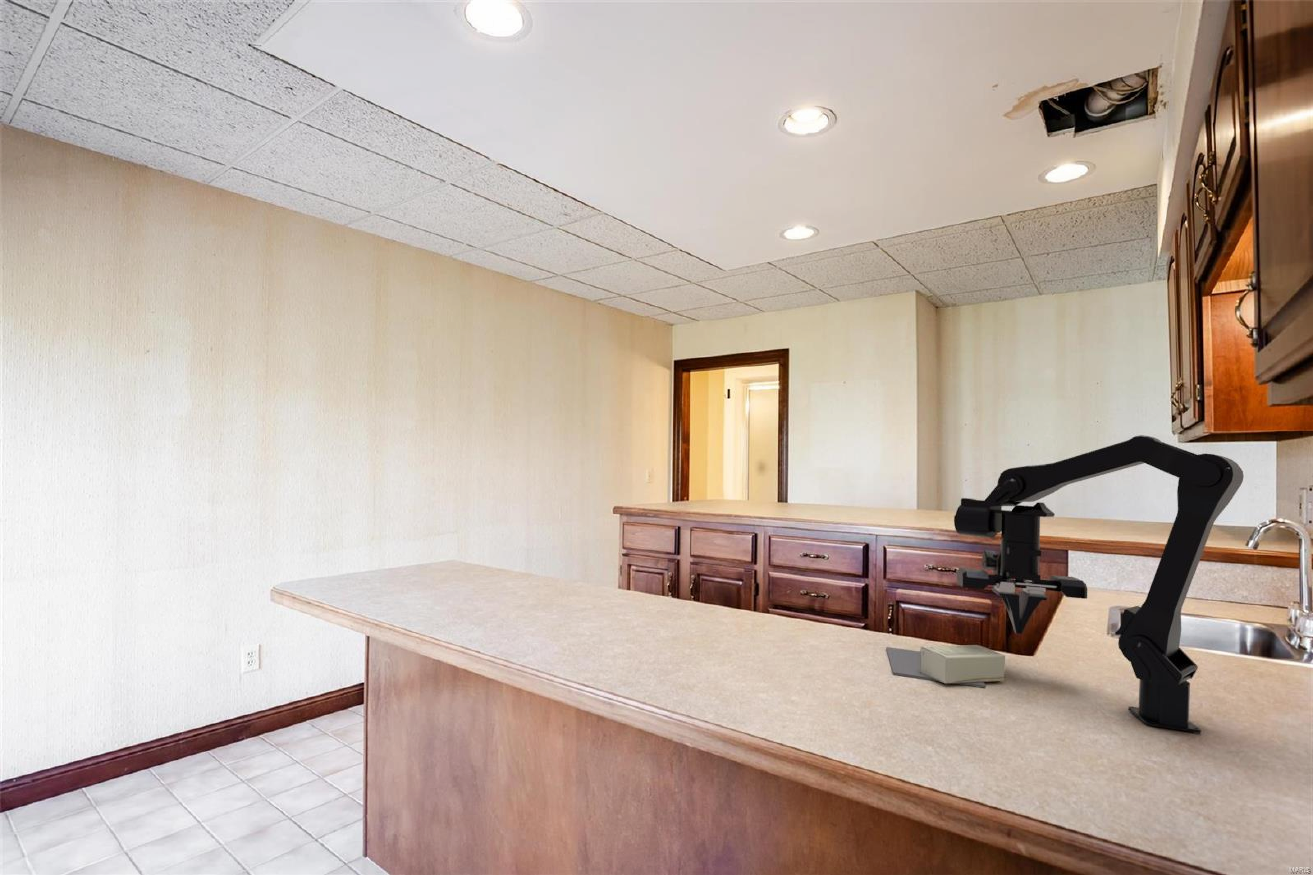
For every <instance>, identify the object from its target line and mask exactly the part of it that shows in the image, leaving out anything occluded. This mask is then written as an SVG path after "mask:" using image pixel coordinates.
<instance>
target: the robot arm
mask: <svg viewBox="0 0 1313 875" xmlns="http://www.w3.org/2000/svg"><path fill="white" fill-rule="evenodd" d="M1143 464H1146V465H1149V467H1153V468H1155V469H1157V470H1159V471H1162V472H1164V473H1166V474H1168V475H1171V476H1173V477H1175V478H1178V483H1177V488H1176V489H1177V490H1176V493H1177V494H1176V498H1177V501H1176V502H1177V511H1176V512H1177V514H1176V517H1175V518H1174V522H1173V525H1172V527H1171V530H1170V533H1169V534H1168V539H1167V541H1166V543H1165V546H1164V549H1163V553H1162V554H1161V557H1160V560H1159V563H1158V565H1157V569H1156V571H1155V573H1154V577H1153V579H1152V582H1151V585H1150V587H1149V590H1148V593H1147V595H1146V597H1145V601H1144V602H1143V603H1142V604H1141V606H1140V605H1135V606H1132V607H1128V608H1126V609H1124V610H1123V613H1122V617H1121V618H1122V619H1121V624H1120V627H1119V628H1118V629H1117V630H1116V631H1114V635H1116V636H1119V638H1118V644H1117V645H1118V649H1119V650H1120V652H1121V654H1122V656H1124V657H1125V659H1126V660H1127V661H1128V662H1130V664H1131V667H1132V671H1133V673H1134V675H1135V678H1136V679H1137V680H1139V683H1138V684H1139V688H1138V707H1137V706H1128V707H1127V708H1128V711H1130V713H1132V714H1133V715H1134V716H1135V717H1136V718H1138V719H1139V720H1140V721H1141V722H1143V723H1145V725H1147V726H1151V727H1157V728H1158V727H1159V728H1164V729H1171V730H1176V731H1178V730H1179V731H1184V732H1191V733H1196V734H1197V733H1198V734H1201V732H1202V729H1201V728H1200V727H1198V726H1197V725H1196V724H1194V723H1193V722H1191V721H1190V696H1191V694H1190V693H1191V683H1190V682H1189V681H1188V680H1192V679H1193V678H1194V676H1195V675H1196V672H1197V670H1198V669H1199V667H1198V666H1199V665H1197V663H1196V662H1194V660H1193V659H1192V658H1190V657H1189V655H1187V653H1186V652H1185V651H1183V649H1182V648H1181V647H1180V643H1181V635H1182V609H1183V606H1184V603H1185V600H1186V598H1187V595H1188V592H1189V591H1190V590H1189V589H1190V587H1191V584H1192V582H1193V579H1194V577H1195V574H1196V570H1197V568H1198V565H1199V563H1200V560H1201V558H1202V555H1203V553H1204V550H1205V547H1206V545H1207V542H1208V540H1209V539H1208V538H1209V537H1210V534H1211V531H1212V529H1213V525H1214V523H1215V521H1216V520H1217V518H1219V516H1220V515H1221V514H1222V512H1223V511H1224V510H1225V509H1226V508H1227V506H1228V505H1229V504H1230V502H1231V501H1232V499H1233V498H1234V496H1235V494H1236V493H1237V492H1238V490H1239V489H1240V487H1241V485H1242V483H1243V482H1244V477H1245V476H1244V471H1243V469H1242V468H1241V467H1240V465H1239V464H1238V463H1237V462H1236V461H1234V460H1233V459H1232V458H1228V457H1226V456H1222V455H1218V454H1213V453H1200V454H1196V453H1194V452H1191V451H1188V450H1185V449H1182V448H1179V447H1176V446H1174V445H1171V444H1169V443H1165V442H1163V441H1161V440H1160V439H1159V438H1156V437H1153V436H1149V435H1143V434H1142V435H1141V434H1140V435H1135V436H1133V437H1131V438H1129V439H1127V440H1126V441H1125V440H1124V441H1121V442H1118V443H1114V444H1111V445H1107V446H1105V447H1102V448H1097V449H1095V450H1091V451H1089V452H1085V453H1081V454H1078V455H1076V456H1071V457H1069V458H1066V459H1062V460H1059V461H1056V462H1052V463H1050V462H1049V463H1045V464H1034V465H1033V464H1032V465H1026V466H1025V465H1024V466H1017V467H1011V468H1010V467H1009V468H1007V469H1005V470H1003V471H1002V472H1001V473H1000V476H999V477H998V479H997V485H996V486H995V487H994V488H993V490H991V492H990V493H989V494H988V495H987V497H986V498H985V499H984V500H982V499H976V498H967V497H965V498H964V497H962V498H960V504H959V506H958V507H957V508H956V512H955V515H954V516H953V525H954V529H955V531H956V533H957V534H959V535H961V536H969V537H970V536H972V537H979V538H986V539H994V538H995V537H996V536H997V535H998V534H1001V540H1000V544H999V551H998V554H997V553H996V551H995V550H986V549H985V550H983V551H982V554H981V555H982V557H981V558H982V560H981V564H982V566H981V567H982V569H981V568H973V567H972V568H971V567H970V568H968V567H960V568H958V570H957V573H956V583H957V584H958V585H959V586H960V587H962V588H966V589H973V590H974V589H975V590H984V589H986V588H987V587H988V586H993V587H992V588H991V589H992V592H993V593H994V594H996V595H998V596H999V597H1001V599H1002V602H1003V603H1004V605H1005V607H1006V610H1007V613H1008V616H1009V619H1010V621H1011V625H1012V628H1013V631H1014V633H1015V634H1016V635H1022V634H1023V632H1024V630H1025V628H1026V626H1027V625H1028V622H1029V620H1030V619H1031V617H1032V614H1033V613H1034V612H1035V611H1036V609H1037V608H1038V606H1039V605H1040V603H1041V602H1042V601H1048V599H1049V597H1048V596H1046V591H1051V592H1052V591H1053V592H1061V594H1063V596H1065V598H1072V599H1073V598H1074V599H1083V600H1085V599H1086V600H1087V599H1088V586H1087V584H1086V583H1085V582H1084V580H1082V579H1079V578H1076V577H1074V576H1066V575H1055V574H1054V575H1052V574H1050V577H1049V579H1045V578H1041V574H1040V557H1042V549H1040V541H1041V540H1040V537H1041V536H1040V534H1041V518H1053V517H1055V515H1056V514H1055V513H1054V512H1053V511H1052V510H1050V509H1049V507H1047V505H1046V504H1045V502H1039V500H1041V499H1043V498H1045V497H1047V496H1049V495H1053V494H1054V493H1055V492H1056V491H1059V490H1060V489H1062V488H1064V487H1066V486H1068V485H1071V484H1074V483H1079V482H1082V481H1085V480H1089V479H1092V478H1096V477H1099V476H1102V475H1107V474H1111V473H1114V472H1117V471H1122V470H1125V469H1128V468H1133V467H1137V466H1139V465H1140V466H1141V465H1143ZM1036 501H1038V502H1036ZM1031 502H1036V503H1035V504H1034V505H1021V504H1022V503H1031ZM1002 507H1013V508H1012V509H1011V510H1004V509H1002ZM985 570H988V571H993V574H988V571H985ZM1016 588H1017V589H1019V588H1020V589H1019V590H1018V593H1016ZM1021 589H1022V590H1021Z"/></svg>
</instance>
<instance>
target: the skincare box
mask: <svg viewBox="0 0 1313 875" xmlns="http://www.w3.org/2000/svg"><path fill="white" fill-rule="evenodd" d="M1005 666H1006V655H1005V654H1003V653H1000V652H998V651H995V650H992V649H990V648H987V647H984V646H982V645H978V644H969V645H968V644H966V645H963V644H962V645H933V646H931V645H930V646H929V645H927V646H925V645H924V646H920V672H922V673H924V674H926V675H928V676H930V677H932V678H934V679H936V680H938V681H937V682H940V681H941V682H940V683H944V684H954V683H964V682H984V683H985V682H1001V681H1002V682H1004V681H1005Z"/></svg>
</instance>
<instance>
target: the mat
mask: <svg viewBox="0 0 1313 875" xmlns="http://www.w3.org/2000/svg"><path fill="white" fill-rule="evenodd" d="M885 651H886V654H887V657H888V660H889V664H890V668H891V672H892V675H893V676H899V677H906V678H914V679H920V680H928V681H934V682H940V683H942V682H941V681H938V680H936V679H934V678H932V677H930V676H928V675H926V674H924V673H922V672H920V651H919V650H913V649H911V650H910V649H904V648H897V647H890V646H886V647H885ZM953 684H955V685H960V686H968V685H971V686H970V687H975V686H980V687H979V688H982V687H986V686H987V685H986V684H985V682H964V683H953Z"/></svg>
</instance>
